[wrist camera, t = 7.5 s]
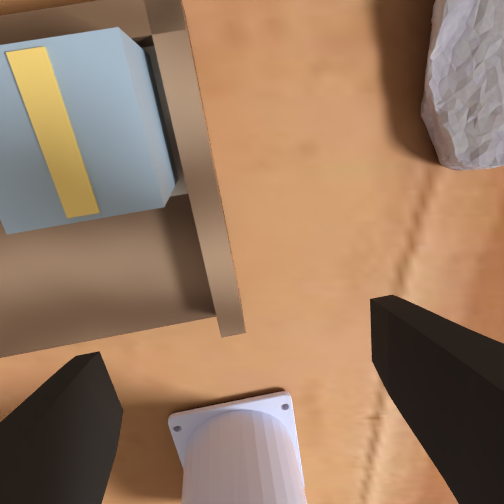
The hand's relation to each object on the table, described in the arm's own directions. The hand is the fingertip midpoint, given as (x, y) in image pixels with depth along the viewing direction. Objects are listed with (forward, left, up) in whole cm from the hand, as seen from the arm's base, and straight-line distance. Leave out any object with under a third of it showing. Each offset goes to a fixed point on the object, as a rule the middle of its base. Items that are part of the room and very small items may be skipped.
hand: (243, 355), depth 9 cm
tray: (+3, +7, -10) cm, 12 cm away
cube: (+6, +4, -9) cm, 11 cm away
